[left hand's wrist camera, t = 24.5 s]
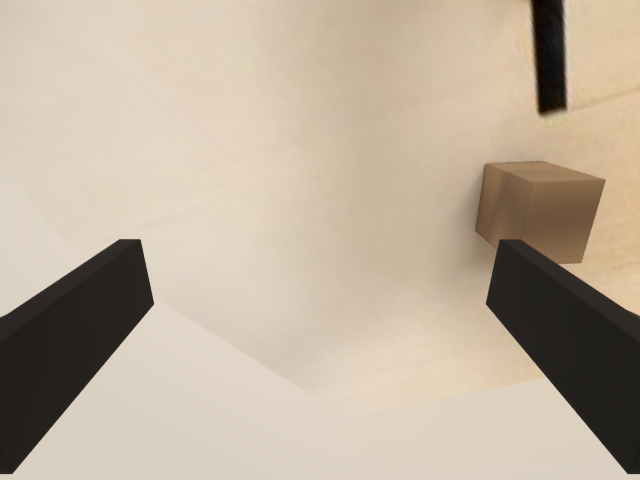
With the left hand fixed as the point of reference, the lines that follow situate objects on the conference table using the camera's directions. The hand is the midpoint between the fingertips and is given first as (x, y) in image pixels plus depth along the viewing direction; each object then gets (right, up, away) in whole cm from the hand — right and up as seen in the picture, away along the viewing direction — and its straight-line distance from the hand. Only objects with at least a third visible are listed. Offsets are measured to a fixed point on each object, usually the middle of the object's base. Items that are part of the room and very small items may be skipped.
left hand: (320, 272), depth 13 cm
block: (+18, +5, +21) cm, 28 cm away
